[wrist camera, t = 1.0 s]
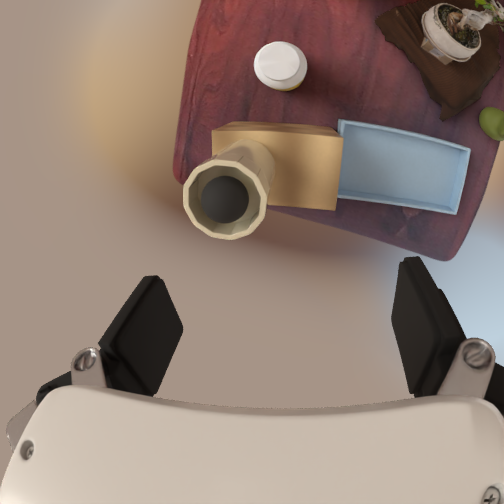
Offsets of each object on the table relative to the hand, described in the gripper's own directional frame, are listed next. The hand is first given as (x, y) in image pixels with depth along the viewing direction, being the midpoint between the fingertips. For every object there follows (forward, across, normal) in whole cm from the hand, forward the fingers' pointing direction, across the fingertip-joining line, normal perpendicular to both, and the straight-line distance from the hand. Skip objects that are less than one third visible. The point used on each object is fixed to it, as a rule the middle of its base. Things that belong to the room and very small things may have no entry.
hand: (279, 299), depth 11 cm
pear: (+36, -36, -4) cm, 51 cm away
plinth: (+36, +2, +1) cm, 36 cm away
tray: (+36, -18, +5) cm, 40 cm away
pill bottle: (+36, 0, -12) cm, 38 cm away
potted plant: (+36, -29, -17) cm, 49 cm away
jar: (+24, +5, 0) cm, 25 cm away
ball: (+13, +6, 0) cm, 14 cm away
